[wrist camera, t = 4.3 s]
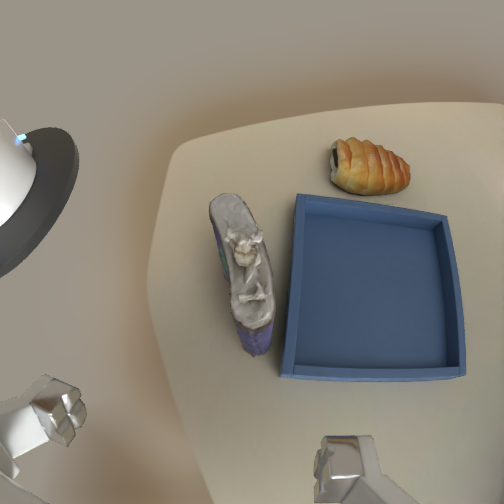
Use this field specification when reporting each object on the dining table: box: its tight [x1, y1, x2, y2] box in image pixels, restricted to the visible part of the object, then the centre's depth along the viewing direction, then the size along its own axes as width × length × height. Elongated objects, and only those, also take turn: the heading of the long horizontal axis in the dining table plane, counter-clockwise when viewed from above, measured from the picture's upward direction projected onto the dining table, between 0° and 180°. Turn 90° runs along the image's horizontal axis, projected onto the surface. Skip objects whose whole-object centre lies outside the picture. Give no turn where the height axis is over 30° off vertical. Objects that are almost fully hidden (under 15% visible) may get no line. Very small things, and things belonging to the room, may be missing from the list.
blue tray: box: [279, 194, 466, 382], centre depth 24 cm, size 16×16×3 cm
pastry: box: [330, 137, 410, 195], centre depth 30 cm, size 9×7×4 cm
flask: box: [209, 194, 276, 357], centre depth 20 cm, size 9×3×11 cm, turn 14°
